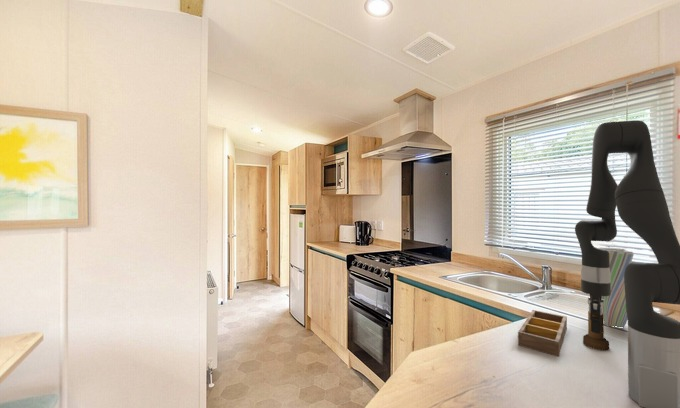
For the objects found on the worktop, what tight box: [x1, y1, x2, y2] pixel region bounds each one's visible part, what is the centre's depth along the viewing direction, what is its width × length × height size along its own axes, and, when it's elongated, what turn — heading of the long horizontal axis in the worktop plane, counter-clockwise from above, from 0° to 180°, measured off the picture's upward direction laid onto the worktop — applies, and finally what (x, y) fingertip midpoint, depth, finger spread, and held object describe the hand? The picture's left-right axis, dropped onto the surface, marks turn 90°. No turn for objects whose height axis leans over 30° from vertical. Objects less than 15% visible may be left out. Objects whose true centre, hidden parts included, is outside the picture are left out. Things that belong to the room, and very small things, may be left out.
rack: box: [517, 309, 568, 357], centre depth 105 cm, size 28×11×4 cm, turn 138°
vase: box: [595, 246, 635, 329], centre depth 114 cm, size 14×14×30 cm
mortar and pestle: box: [582, 294, 610, 352], centre depth 98 cm, size 7×6×18 cm
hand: (595, 329), depth 98 cm, fingers open, 6 cm apart
